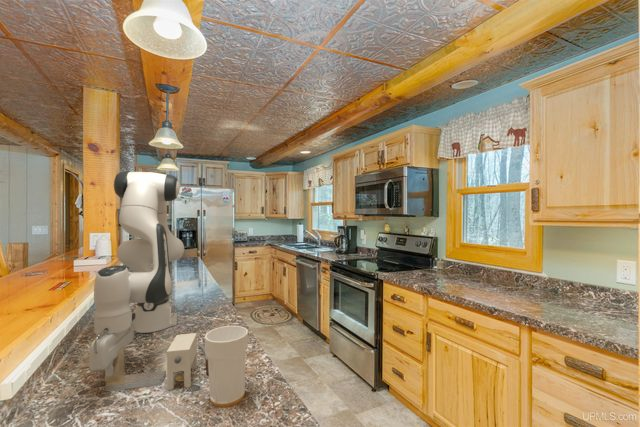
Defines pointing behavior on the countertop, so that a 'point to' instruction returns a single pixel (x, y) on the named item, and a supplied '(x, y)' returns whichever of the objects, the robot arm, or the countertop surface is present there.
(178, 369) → the notched cream block
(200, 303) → the countertop surface
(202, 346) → the kitchen cleaver
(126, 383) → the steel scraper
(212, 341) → the cup
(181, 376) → the brass token
